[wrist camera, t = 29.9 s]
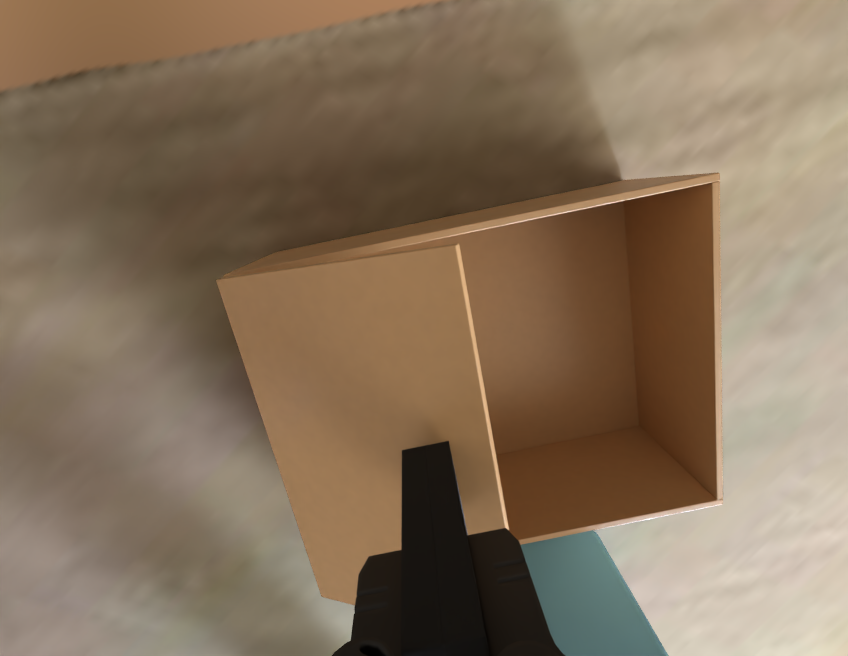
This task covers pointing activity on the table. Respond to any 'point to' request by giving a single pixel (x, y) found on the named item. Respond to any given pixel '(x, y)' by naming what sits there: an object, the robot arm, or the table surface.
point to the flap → (365, 395)
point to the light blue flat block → (588, 599)
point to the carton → (587, 345)
